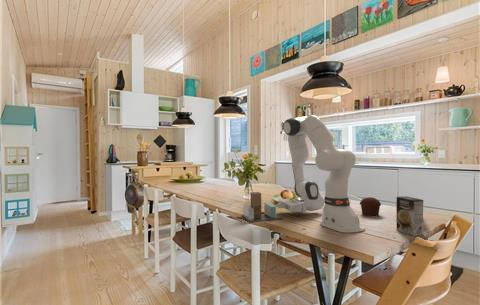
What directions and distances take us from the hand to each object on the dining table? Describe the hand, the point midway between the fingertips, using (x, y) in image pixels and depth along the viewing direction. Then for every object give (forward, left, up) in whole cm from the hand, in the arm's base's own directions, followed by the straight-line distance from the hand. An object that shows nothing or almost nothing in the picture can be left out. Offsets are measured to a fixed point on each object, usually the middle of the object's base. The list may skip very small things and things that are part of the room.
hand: (277, 205), depth 158 cm
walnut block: (0, +13, -5) cm, 14 cm away
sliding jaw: (0, +5, -5) cm, 7 cm away
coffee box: (-46, -48, -6) cm, 67 cm away
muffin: (-13, -54, -6) cm, 56 cm away
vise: (0, +10, -6) cm, 12 cm away
